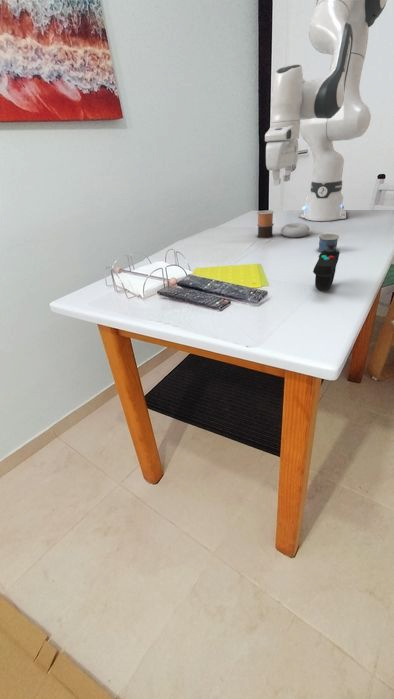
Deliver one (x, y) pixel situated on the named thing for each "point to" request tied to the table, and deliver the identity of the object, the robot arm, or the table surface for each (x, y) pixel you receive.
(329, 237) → the pod top
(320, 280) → the controller
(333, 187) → the robot arm
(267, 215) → the cylinder
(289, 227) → the donut
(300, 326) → the table surface
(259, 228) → the base
